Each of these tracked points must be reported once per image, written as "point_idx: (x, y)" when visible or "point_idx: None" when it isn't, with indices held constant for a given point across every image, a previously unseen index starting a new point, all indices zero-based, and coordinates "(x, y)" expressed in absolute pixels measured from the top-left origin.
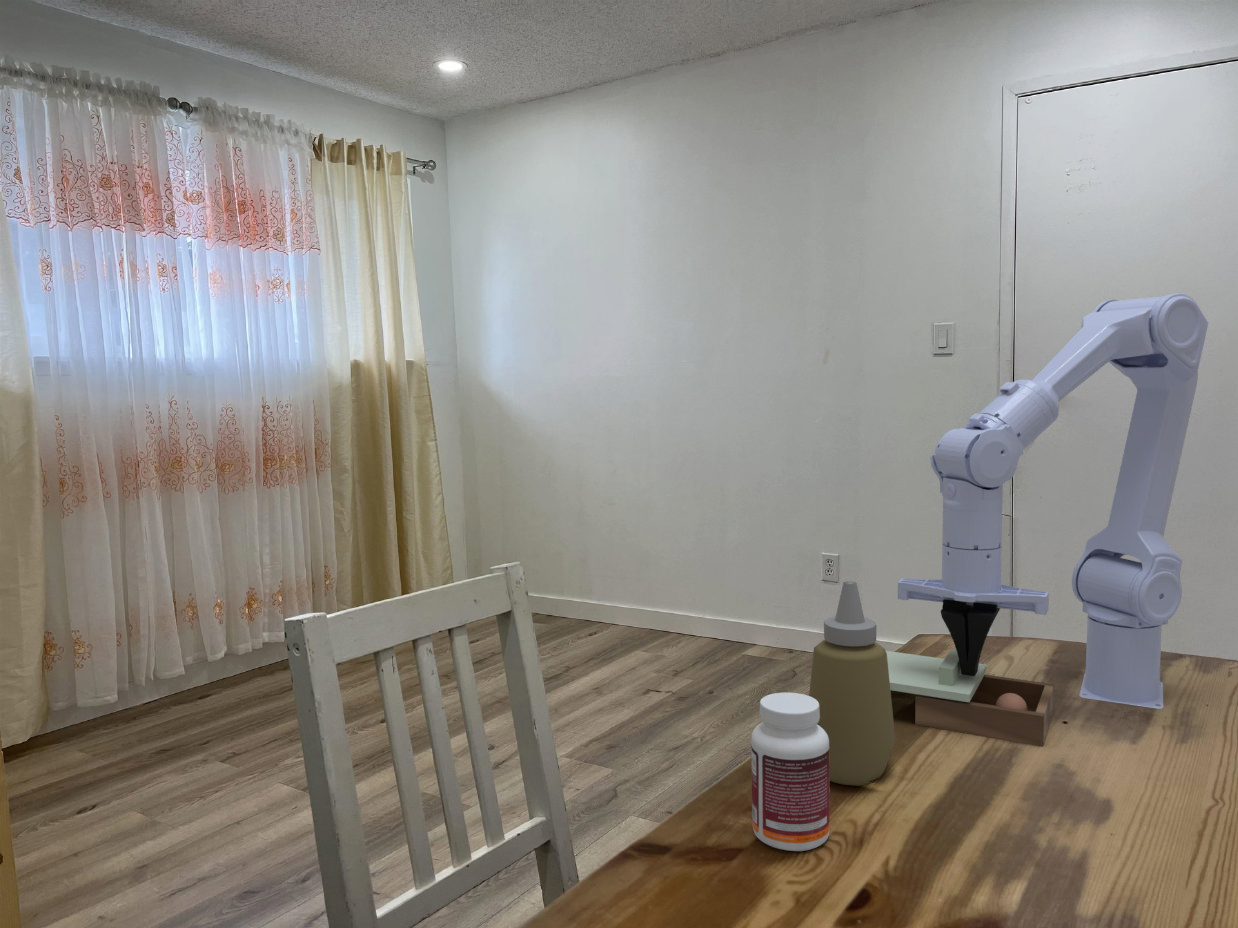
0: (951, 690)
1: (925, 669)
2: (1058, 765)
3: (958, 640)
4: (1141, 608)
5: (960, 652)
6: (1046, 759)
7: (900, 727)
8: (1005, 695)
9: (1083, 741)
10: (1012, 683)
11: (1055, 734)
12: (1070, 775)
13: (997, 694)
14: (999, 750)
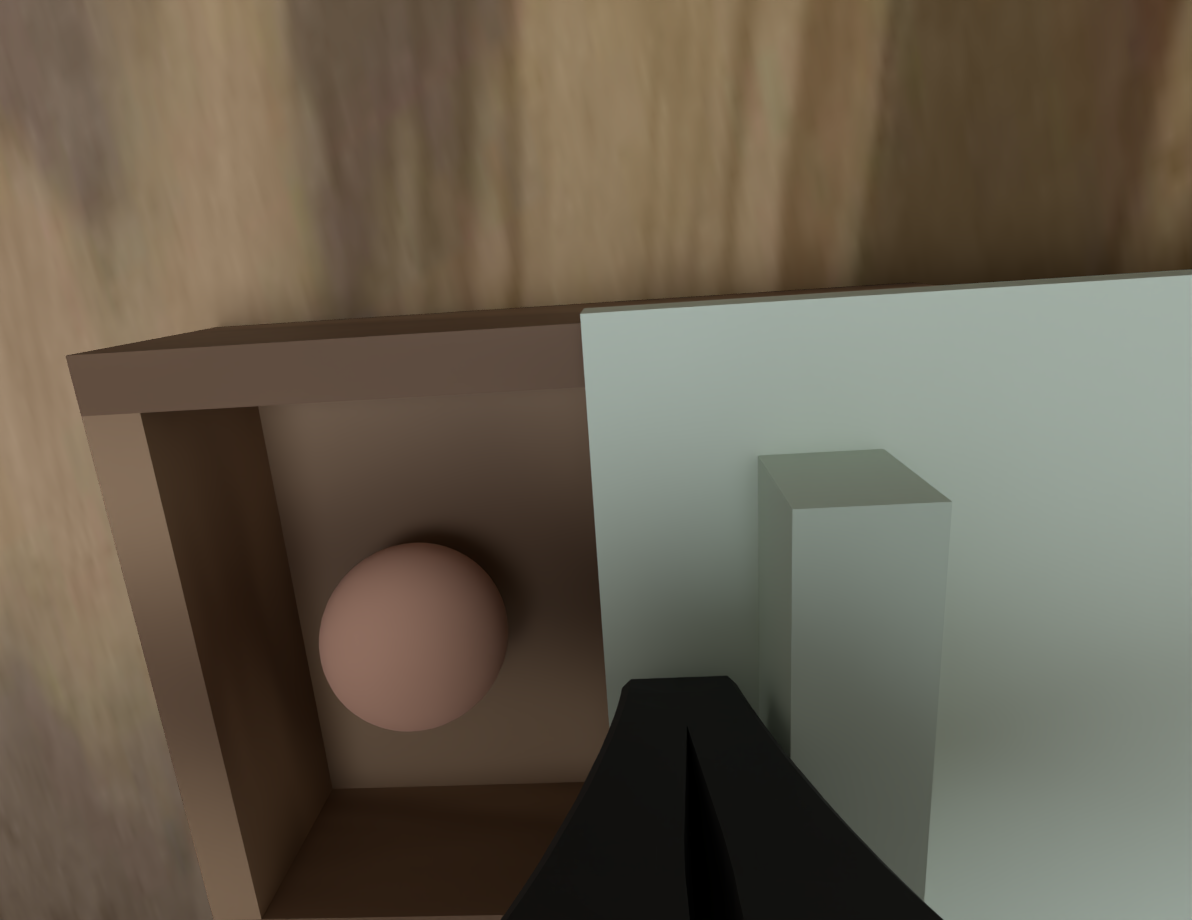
0: (747, 344)
1: (1046, 750)
2: (98, 189)
3: (850, 910)
4: None
5: (780, 790)
6: (173, 240)
7: (1003, 278)
8: (424, 657)
9: (107, 575)
10: (458, 900)
11: None
12: (3, 79)
13: (555, 830)
14: (413, 232)
